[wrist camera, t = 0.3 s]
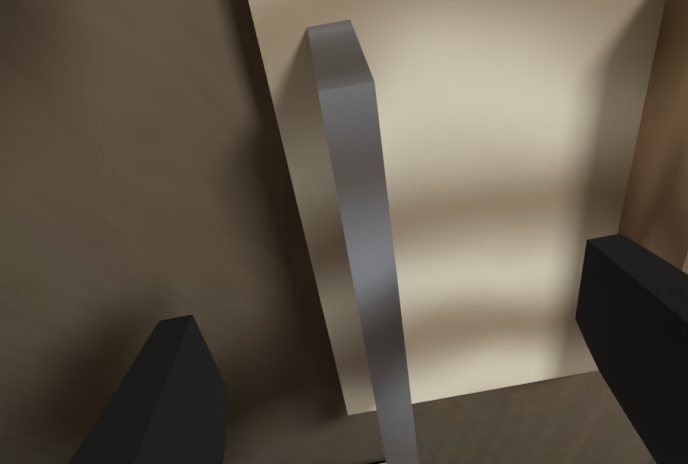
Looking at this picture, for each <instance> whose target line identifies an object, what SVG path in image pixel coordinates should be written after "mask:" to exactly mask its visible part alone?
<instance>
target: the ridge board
mask: <svg viewBox="0 0 688 464" xmlns="http://www.w3.org/2000/svg"><path fill="white" fill-rule="evenodd" d="M665 1H666V0H248V2H249V6H250V10H251V14H252V18H253V22H254V26H255V31H256V35H257V39H258V43H259V47H260V51H261V56H262V60H263V64H264V68H265V72H266V76H267V80H268V85H269V89H270V93H271V97H272V101H273V105H274V110H275V114H276V118H277V122H278V126H279V130H280V134H281V139H282V143H283V147H284V151H285V155H286V159H287V163H288V168H289V172H290V176H291V180H292V184H293V188H294V193H295V197H296V201H297V205H298V209H299V213H300V217H301V222H302V226H303V230H304V234H305V238H306V242H307V247H308V251H309V255H310V259H311V263H312V267H313V271H314V276H315V280H316V284H317V288H318V292H319V296H320V301H321V305H322V309H323V313H324V317H325V321H326V325H327V330H328V334H329V338H330V342H331V346H332V350H333V355H334V359H335V363H336V367H337V371H338V375H339V379H340V384H341V388H342V392H343V396H344V400H345V404H346V409H347V413H348V415H352V414H357V413H363V412H368V411H374V410H377V415H378V420H379V426H380V431H381V437H382V442H383V448H384V453H385V458H386V464H419V462H418V453H417V444H416V436H415V427H414V418H413V410H412V404H413V403H419V402H424V401H430V400H435V399H441V398H446V397H452V396H458V395H463V394H469V393H474V392H480V391H486V390H491V389H497V388H502V387H508V386H513V385H519V384H525V383H530V382H536V381H541V380H547V379H553V378H558V377H564V376H569V375H575V374H580V373H586V372H592V371H597V370H599V369H598V368H597V366H596V364H595V361H594V359H593V357H592V355H591V353H590V351H589V349H588V347H587V345H586V342H585V340H584V338H583V335H582V333H581V331H580V329H579V326H578V324H577V322H576V320H575V316H576V309H577V302H578V295H579V288H580V282H581V275H582V268H583V261H584V254H585V247H586V241H587V240H588V239H594V238H599V237H604V236H609V235H615V234H618V229H619V224H620V219H621V214H622V209H623V204H624V200H625V195H626V190H627V185H628V180H629V175H630V170H631V166H632V161H633V156H634V151H635V146H636V141H637V136H638V132H639V127H640V122H641V117H642V112H643V107H644V102H645V98H646V93H647V88H648V83H649V78H650V73H651V68H652V64H653V59H654V54H655V49H656V44H657V39H658V35H659V30H660V25H661V20H662V15H663V10H664V5H665Z"/></svg>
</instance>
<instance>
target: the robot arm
mask: <svg viewBox="0 0 688 464" xmlns="http://www.w3.org/2000/svg"><path fill="white" fill-rule="evenodd" d="M575 320H576V322H577V324H578V326H579V329H580V331H581V333H582V335H583V338H584V340H585V342H586V345H587V347H588V349H589V351H590V353H591V355H592V357H593V359H594V361H595V364H596V366H597V368H598V369H599V371H600V373H601V374H602V376H603V378H604V379H605V381H606V383H607V384H608V386H609V388H610V389H611V391H612V393H613V394H614V396H615V397H616V399H617V401H618V402H619V404H620V406H621V407H622V409H623V410H624V412H625V414H626V415H627V417H628V418H629V420H630V421H631V423H632V425H633V426H634V428H635V429H636V431H637V433H638V434H639V436H640V437H641V439H642V441H643V442H644V444H645V445H646V447H647V449H648V450H649V452H650V453H651V455H652V457H653V458H654V460H655V461H656V463H657V464H688V274H686V273H685V272H683V271H682V270H680V269H678V268H677V267H675V266H673V265H672V264H670V263H669V262H667V261H665V260H664V259H662V258H661V257H659V256H657V255H656V254H654V253H652V252H651V251H649V250H648V249H646V248H644V247H643V246H641V245H639V244H638V243H636V242H634V241H633V240H631V239H629V238H627V237H626V236H624V235H622V234H621V233H620V234H615V235H609V236H604V237H599V238H594V239H588V240H587V241H586V247H585V254H584V261H583V268H582V275H581V282H580V288H579V295H578V302H577V309H576V316H575ZM225 440H226V397H225V383H224V381H223V378H222V376H221V374H220V372H219V370H218V368H217V366H216V364H215V361H214V359H213V357H212V355H211V353H210V351H209V349H208V347H207V344H206V342H205V340H204V338H203V336H202V334H201V332H200V330H199V327H198V325H197V323H196V321H195V319H194V317H193V315H188V316H182V317H177V318H172V319H166V320H161V321H159V322H158V324H157V325H156V327H155V328H154V330H153V331H152V333H151V335H150V336H149V338H148V339H147V341H146V343H145V344H144V346H143V348H142V349H141V351H140V353H139V354H138V356H137V358H136V359H135V361H134V363H133V364H132V366H131V367H130V369H129V371H128V372H127V374H126V376H125V377H124V379H123V380H122V382H121V384H120V385H119V387H118V389H117V390H116V392H115V393H114V395H113V396H112V398H111V399H110V401H109V403H108V404H107V406H106V407H105V409H104V410H103V412H102V413H101V415H100V417H99V418H98V420H97V421H96V423H95V424H94V426H93V427H92V429H91V430H90V432H89V433H88V435H87V436H86V438H85V439H84V441H83V442H82V444H81V445H80V447H79V448H78V449H77V451H76V452H75V454H74V455H73V457H72V458H71V459H70V461H69V462H68V464H223V459H224V450H225ZM380 464H386V463H380Z"/></svg>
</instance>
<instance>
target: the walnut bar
mask: <svg viewBox="0 0 688 464" xmlns="http://www.w3.org/2000/svg"><path fill="white" fill-rule="evenodd" d="M620 233H621V234H622V235H624V236H626V237H627V238H629V239H631V240H633V241H634V242H636V243H638V244H639V245H641V246H643V247H644V248H646V249H648V250H649V251H651V252H652V253H654V254H656V255H657V256H659V257H661V258H662V259H664V260H665V261H667V262H669V263H670V264H672V265H673V266H675V267H677V268H678V269H680V270H682V271H683V272H685V273H686V274H688V0H666V1H665V5H664V10H663V15H662V20H661V25H660V30H659V35H658V39H657V44H656V49H655V54H654V59H653V64H652V68H651V73H650V78H649V83H648V88H647V93H646V98H645V102H644V107H643V112H642V117H641V122H640V127H639V132H638V136H637V141H636V146H635V151H634V156H633V161H632V166H631V170H630V175H629V180H628V185H627V190H626V195H625V200H624V204H623V209H622V214H621V219H620V224H619V229H618V234H620Z"/></svg>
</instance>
